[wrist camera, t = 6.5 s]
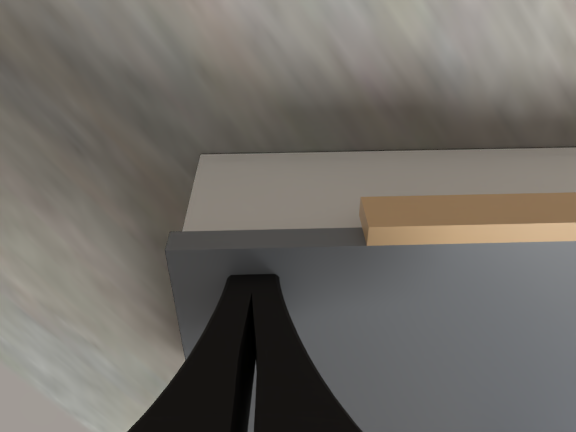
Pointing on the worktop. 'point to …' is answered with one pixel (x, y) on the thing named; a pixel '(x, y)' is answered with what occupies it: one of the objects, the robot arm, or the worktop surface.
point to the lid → (417, 307)
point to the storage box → (358, 183)
